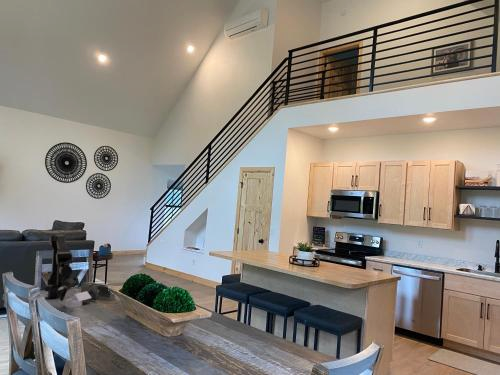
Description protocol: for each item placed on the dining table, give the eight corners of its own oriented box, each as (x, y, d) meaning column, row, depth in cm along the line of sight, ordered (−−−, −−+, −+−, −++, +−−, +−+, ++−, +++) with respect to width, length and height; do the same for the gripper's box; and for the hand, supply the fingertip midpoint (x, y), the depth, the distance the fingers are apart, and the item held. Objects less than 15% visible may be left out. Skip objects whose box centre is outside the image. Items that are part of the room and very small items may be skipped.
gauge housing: (82, 296, 233) (83, 283, 233) (87, 294, 237) (88, 281, 237) (110, 300, 225) (110, 287, 225) (114, 299, 228) (115, 285, 229)
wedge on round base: (81, 300, 223) (62, 306, 211) (82, 290, 223) (62, 294, 212) (91, 303, 218) (71, 308, 207) (91, 292, 219) (72, 297, 207)
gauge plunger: (77, 297, 226) (77, 283, 226) (85, 294, 232) (86, 281, 232) (99, 301, 220) (100, 287, 220) (107, 298, 226) (107, 284, 226)
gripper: (59, 278, 194) (58, 307, 193) (86, 271, 211) (85, 298, 211) (44, 275, 198) (43, 304, 197) (72, 269, 215) (71, 296, 215)
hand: (61, 300), depth 205 cm, fingers closed
